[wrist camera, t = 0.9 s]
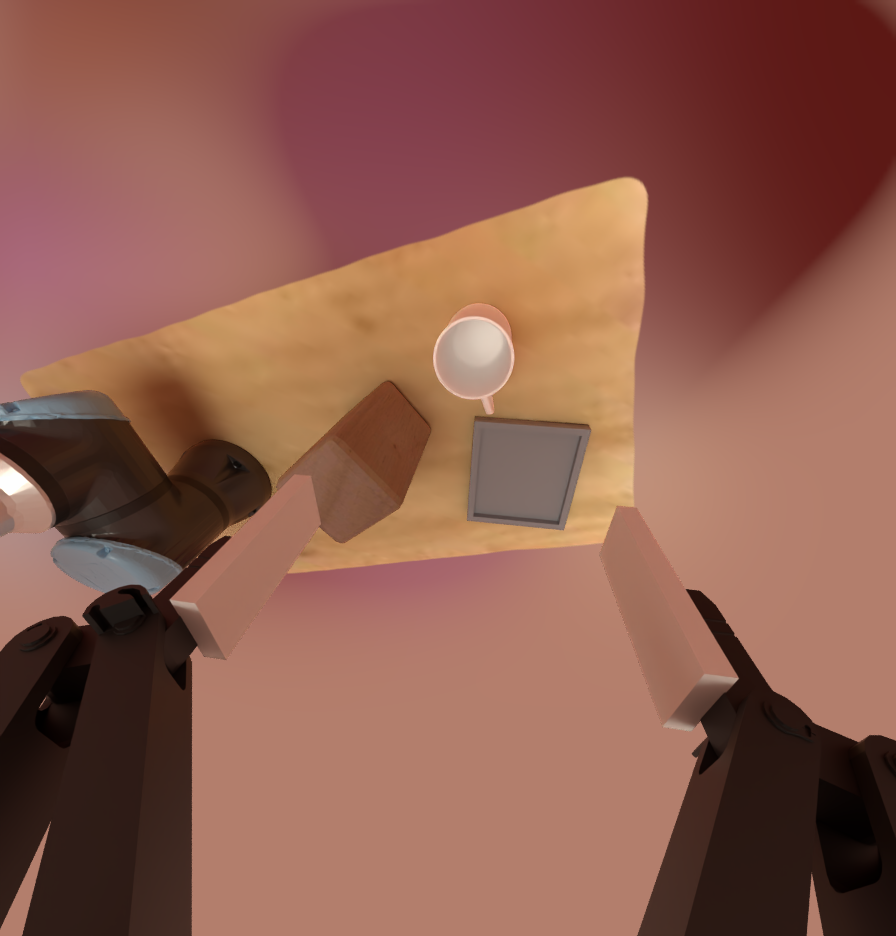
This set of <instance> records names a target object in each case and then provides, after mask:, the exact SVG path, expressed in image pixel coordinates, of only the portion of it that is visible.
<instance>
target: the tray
mask: <svg viewBox="0 0 896 936" xmlns="http://www.w3.org/2000/svg"><path fill="white" fill-rule="evenodd" d="M590 433H591V429H590V427H589V425H584V424H571V423H557V422H543V421H529V420H516V419H502V418H488V417H475V422H474V435H473V448H472V461H471V475H470V488H469V501H468V514H467V521H476V522H486V523H496V524H506V525H516V526H526V527H536V528H546V529H556V530H564V528H565V524H566V521H567V517H568V513H569V510H570V506H571V502H572V499H573V495H574V491H575V488H576V484H577V480H578V477H579V473H580V469H581V466H582V462H583V458H584V455H585V451H586V447H587V444H588V440H589V436H590Z"/></svg>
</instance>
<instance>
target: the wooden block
mask: <svg viewBox="0 0 896 936" xmlns="http://www.w3.org/2000/svg"><path fill="white" fill-rule="evenodd" d="M430 433H431V430H430V427H429V426H428V425H427V424H426V422H425V421H424V420H423V419H422V418H421V417H420V415H419V414H418V413H417V412H416V411H415V410H414V408H413V407H412V406H411V405H410V404H409V403H408V402H407V400H406V399H405V398H404V397H403V396H402V395H401V393H400V392H399V391H398V390H397V389H396V388H395V386H394V385H393V384H392V383H390V382H388V381H387V382H384V383H382V384H381V385H379V386H378V387H377V388H376V389H375V390H374V391H373V392H371V393H370V394H369V395H368V396H367V397H366V398H364V399H363V400H362V401H361V402H360V403H359V404H358V405H356V406H355V407H354V408H353V409H352V410H351V411H349V412H348V413H347V414H346V415H345V416H344V417H343V418H342V419H341V420H340V421H339V422H338V423H337V424H336V425H334V426H333V427H332V428H331V429H330V430H329V431H328V432H327V433H326V434H325V435H324V436H323V437H322V438H321V439H320V440H319V441H318V442H317V443H316V444H315V445H314V446H312V447H311V448H310V449H309V450H308V451H307V452H306V453H305V454H304V455H303V456H302V457H301V458H300V459H299V460H298V461H297V462H296V463H295V464H294V465H293V466H292V467H290V468H289V469H288V470H287V471H286V472H285V473H284V474H283V475H282V476H281V477H280V478H279V480H278V483H277V486H276V488H277V490H279V489H280V488H281V487H282V486H283V485H284V484H285V483H286V482H287V481H288V480H289V479H290V478H291V477H292V476H293V475H294V474H296V475H306V476H311V479H312V484H313V488H314V493H315V498H316V503H317V507H318V512H319V517H320V522H321V525H320V526H319V527H320V528H321V529H322V530H323V531H325V532H326V533H327V534H328V535H329V536H330V537H332V538H333V539H334V540H335V541H336V542H339V543H345V542H347V541H348V540H350V539H352V538H353V537H355V536H356V535H358V534H359V533H361V532H363V531H364V530H366V529H367V528H369V527H371V526H372V525H374V524H375V523H377V522H378V521H380V520H382V519H383V518H385V517H386V516H388V515H390V514H391V513H393V512H394V511H396V510H398V509H399V508H400V506H401V505H402V503H403V500H404V498H405V495H406V493H407V490H408V488H409V485H410V483H411V480H412V478H413V475H414V473H415V470H416V468H417V465H418V463H419V460H420V458H421V455H422V453H423V450H424V448H425V445H426V443H427V440H428V438H429V435H430Z"/></svg>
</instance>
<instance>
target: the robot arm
mask: <svg viewBox="0 0 896 936" xmlns="http://www.w3.org/2000/svg"><path fill="white" fill-rule="evenodd" d="M130 423H131V421H130V419H129V418H127V417H125V416H124V415H123V414H122V412H121V411H120V410H119V409H118V407H117V406H116V405H115V403H114V402H113V401H112V400H111V399H110V398H109V397H108V396H107V395H105V394H103V393H100V392H97V391H91V390H86V391H76V392H69V393H62V394H55V395H49V396H43V397H36V398H30V399H25V400H19V401H14V402H8V403H2V404H0V537H2V536H4V535H6V534H8V533H42V532H45V531H47V530H49V529H51V528H52V527H55V528H56V529H57V530H58V531H59V532H60V533H61V534H62V535H63V536H64V538H63V539H61V540H59V541H57V543H56V545H55V546H54V547H53V548H52V550H51V557H53V562H54V563H55V564H56V566H57V567H58V568H60V569H61V570H62V571H63V572H64V573H66V574H67V575H68V576H70V577H71V578H73V579H75V580H76V581H78V582H80V583H82V584H84V585H86V586H88V587H90V588H93V589H95V590H98V591H101V592H104V593H105V594H104V595H102V596H100V597H99V598H97V599H96V600H95V601H94V602H92V603H91V604H90V605H89V606H88V607H87V608H86V610H85V612H84V613H83V617H84V619H85V620H86V621H87V622H88V623H89V625H85V626H77V625H76V623H75V622H74V621H73V620H72V619H71V618H69V617H66V616H59V617H52V618H49V619H46V620H43V621H40V622H38V623H36V624H34V625H32V626H30V627H28V628H26V629H25V630H23V631H22V632H20V633H19V634H17V635H16V636H15V637H14V638H13V639H12V640H11V641H9V642H8V643H7V644H6V645H5V647H4V648H3V649H2V651H1V652H0V928H1V926H2V924H3V922H4V919H5V918H6V915H7V913H8V911H9V909H10V907H11V905H12V903H13V900H14V898H15V896H16V894H17V892H18V890H19V888H20V885H21V883H22V881H23V879H24V877H25V875H26V873H27V871H28V868H29V866H30V864H31V862H32V860H33V858H34V856H35V853H36V851H37V849H38V847H39V845H40V842H41V841H42V839H43V836H44V834H45V832H46V830H47V828H48V826H49V824H50V822H51V824H50V828H49V832H48V836H47V840H46V844H45V848H44V851H43V855H42V859H41V863H40V868H39V871H38V876H37V879H36V883H35V887H34V891H33V895H32V899H31V903H30V907H29V911H28V915H27V919H26V923H25V927H24V931H23V935H22V936H192V935H191V934H192V931H191V930H192V929H191V928H192V925H191V924H192V923H191V922H192V919H191V918H192V917H191V915H192V907H191V906H192V661H191V658H190V656H189V655H190V654H191V653H192V652H193V650H194V649H195V648H196V647H197V646H198V648H199V649H200V651H201V653H202V654H203V656H204V657H210V658H216V659H223V660H227V658H228V657H229V655H230V654H231V652H232V651H233V650H234V648H235V647H236V645H237V644H238V642H239V641H240V640H241V638H242V637H243V635H244V634H245V632H246V631H247V629H248V628H249V627H250V625H251V624H252V622H253V621H254V619H255V618H256V617H257V615H258V614H259V612H260V611H261V609H262V608H263V606H264V605H265V604H266V602H267V601H268V599H269V598H270V596H271V595H272V594H273V592H274V591H275V589H276V588H277V586H278V585H279V583H280V582H281V581H282V579H283V578H284V576H285V575H286V573H287V572H288V571H289V569H290V568H291V566H292V565H293V563H294V562H295V560H296V559H297V558H298V556H299V555H300V553H301V552H302V550H303V549H304V548H305V546H306V545H307V543H308V542H309V540H310V539H311V537H312V536H313V535H314V533H315V532H316V530H317V529H318V527H319V526H320V525H321V522H320V517H319V512H318V507H317V503H316V498H315V493H314V488H313V484H312V479H311V476H306V475H296V474H294V475H293V476H292V477H291V478H290V479H289V480H288V481H287V482H286V483H285V484H284V485H283V486H282V487H281V488H280V489H279V490H278V491H277V492H276V493H275V494H274V495H273V496H272V497H271V498H270V495H271V485H270V481H269V478H268V476H267V474H266V472H265V470H264V469H263V467H262V466H261V465H260V464H259V462H258V461H257V460H256V459H255V458H254V457H252V456H251V455H250V454H249V453H247V452H246V451H245V450H243V449H241V448H240V447H238V446H236V445H233V444H231V443H228V442H225V441H220V440H206V441H202V442H200V443H198V444H196V445H194V446H193V447H191V448H189V449H188V450H187V451H185V452H184V453H183V455H182V456H181V458H180V459H179V461H178V462H177V463H176V465H175V466H174V467H173V468H172V470H171V471H170V472H169V473H168V475H166V474H165V472H164V471H163V469H162V468H161V467H160V465H159V464H158V462H157V461H156V460H155V458H154V457H153V455H152V454H151V453H150V451H149V450H148V448H147V447H146V446H145V444H144V443H143V441H142V440H141V439H140V437H139V436H138V434H137V433H136V432H135V430H134V429H133V427H132V426H131V425H130ZM251 516H252V517H251ZM248 517H251V518H250V519H249V520H248V521H247V522H246V523H245V524H244V525H243V526H242V527H241V528H240V529H239V530H238V531H237V532H236V533H235V534H234V535H233V536H232V537H230V536H224V537H222V538H221V539H219V540H217V541H216V542H214V543H212V542H213V541H214V540H215V539H216V538H217V537H218V536H219V535H220V534H221V533H222V532H223V531H224V530H225V529H226V528H227V527H229V526H231V525H234V524H236V523H238V522H240V521H242V520H244V519H246V518H248ZM211 543H212V544H211ZM205 548H206V549H205ZM204 549H205V550H204ZM203 550H204V551H203ZM202 551H203V552H202ZM201 552H202V553H201ZM200 553H201V554H200ZM199 554H200V555H199ZM198 555H199V556H198ZM197 556H198V558H196V557H197ZM600 558H601V561H602V563H603V566H604V569H605V572H606V575H607V577H608V580H609V583H610V585H611V588H612V591H613V593H614V596H615V599H616V602H617V604H618V607H619V610H620V613H621V615H622V618H623V621H624V624H625V626H626V629H627V632H628V635H629V637H630V640H631V643H632V645H633V648H634V651H635V654H636V656H637V659H638V662H639V665H640V667H641V670H642V673H643V675H644V678H645V681H646V684H647V686H648V689H649V692H650V695H651V697H652V700H653V703H654V705H655V708H656V711H657V713H658V716H659V719H660V721H661V725H662V727H667V728H673V729H679V730H686V731H692V730H693V729H694V728H695V727H696V725H697V724H698V723H699V722H700V721H701V723H702V725H703V727H704V729H705V732H706V734H707V736H708V737H707V738H706V739H705V740H704V741H703V742H702V743H701V744H700V745H699V746H698V747H697V748H696V749H695V750H694V752H693V753H692V755H693V756H694V757H697V756H698V755H699V756H698V759H697V762H696V765H695V768H694V770H693V774H692V777H691V779H690V782H689V785H688V788H687V791H686V794H685V797H684V800H683V803H682V806H681V809H680V812H679V815H678V818H677V821H676V824H675V826H674V829H673V833H672V835H671V838H670V842H669V844H668V847H667V850H666V853H665V856H664V859H663V862H662V865H661V868H660V871H659V874H658V877H657V880H656V882H655V885H654V889H653V892H652V894H651V897H650V901H649V903H648V906H647V909H646V912H645V915H644V918H643V921H642V924H641V927H640V930H639V932H638V935H637V936H807V923H808V911H809V898H810V886H811V873H812V876H813V881H814V886H815V892H816V897H817V902H818V908H819V913H820V918H821V923H822V929H823V935H824V936H896V741H895V740H892V739H889V738H887V737H884V736H881V735H869V736H868V737H866V738H865V739H863V740H862V741H860V742H857V741H854V740H852V739H849V738H847V737H845V736H842V735H840V734H838V733H835V732H833V731H830V730H828V729H826V728H823V727H821V726H819V725H816V724H814V723H813V722H812V720H811V719H810V718H809V717H808V716H807V715H806V714H805V713H804V712H803V711H802V710H801V709H800V708H799V707H798V706H796V705H795V704H794V703H792V702H791V701H790V700H788V699H787V698H785V697H783V696H782V695H780V694H777V693H776V692H774V691H773V690H772V689H771V688H770V687H769V685H768V684H767V682H766V681H765V679H764V678H763V676H762V674H761V673H760V672H759V670H758V668H757V667H756V666H755V664H754V662H753V661H752V659H751V658H750V657H749V655H748V654H747V652H746V650H745V649H744V647H743V646H742V644H741V643H740V641H739V640H738V638H737V637H735V636H734V632H733V631H732V629H731V628H730V626H729V625H728V624H726V620H725V619H724V617H723V616H722V614H721V613H720V611H719V610H718V608H717V607H716V605H715V604H714V603H713V602H712V601H710V599H708V598H707V597H706V596H705V595H704V594H703V593H702V592H701V591H697V590H689V589H685V588H684V586H683V584H682V583H681V581H680V580H679V578H678V576H677V574H676V573H675V571H674V569H673V568H672V566H671V564H670V563H669V561H668V559H667V558H666V556H665V554H664V553H663V551H662V549H661V548H660V546H659V544H658V543H657V541H656V539H655V538H654V536H653V534H652V533H651V531H650V529H649V528H648V526H647V524H646V523H645V521H644V519H643V517H642V516H641V514H640V512H639V511H638V509H637V508H634V507H623V506H617V508H616V510H615V513H614V516H613V519H612V521H611V524H610V527H609V530H608V532H607V535H606V538H605V540H604V543H603V546H602V549H601V551H600ZM188 565H189V566H188ZM187 566H188V568H186V567H187ZM175 577H176V578H175ZM169 582H170V583H169ZM168 583H169V584H168ZM167 584H168V585H167ZM166 585H167V586H166ZM164 586H166V587H165V588H164V589H163V590H162V591H161V592H160V593H159V594H158V595H157V596H156V597H155V598H153V599H152V597H151V595H152V594H155V593H156V592H158V591H160V590H161V589H162V588H163V587H164ZM45 697H46V699H45ZM44 699H45V701H44V703H43V704H42V706H41V707H40V705H41V703H42V702H43V700H44ZM39 707H40V708H39ZM51 819H52V820H51Z"/></svg>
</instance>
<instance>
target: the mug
mask: <svg viewBox="0 0 896 936" xmlns="http://www.w3.org/2000/svg"><path fill="white" fill-rule="evenodd" d="M433 364H434V369H435V372H436V375H437V377H438V379H439V381H440V382H441V384H442V385H443V386H444V387H445V388H446V389H447V390H448V391H449V392H451V393H452V394H454V395H456V396H458V397H461V398H464V399H472V400H475V399H481V400H482V403H483V406H484V409H485V411H486V413H487V414H493V413H494V403H493V396H492V395H493V394H494V393H496V392H497V391H499V390H500V389H501V388H502V387H503V386H504V385H505V383H506V382H507V380H508V379H509V377H510V375H511V373H512V370H513V366H514V349H513V344H512V334H511V328H510V325H509V323H508V320H507V319H506V317H505V316H504V315H503V313H502V312H501V311H499V310H498V309H497V308H495V307H493V306H491V305H488V304H484V303H475V304H470V305H467V306H465V307H463V308H462V309H460V310H459V311H458V312H457V313H456V314H455V315H454V316H453V317H452V319H451V320H450V322H449V324H448V326H447V327H446V328H445V329H444V330H443V332H442V333H441V334H440V336H439V338H438V340H437V342H436V344H435V348H434V353H433Z"/></svg>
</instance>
